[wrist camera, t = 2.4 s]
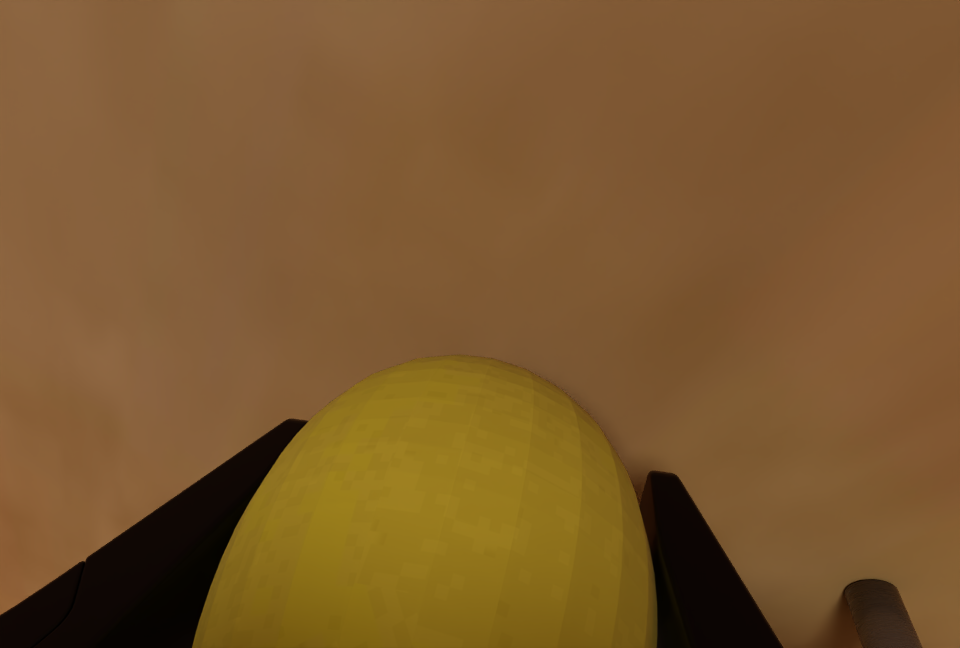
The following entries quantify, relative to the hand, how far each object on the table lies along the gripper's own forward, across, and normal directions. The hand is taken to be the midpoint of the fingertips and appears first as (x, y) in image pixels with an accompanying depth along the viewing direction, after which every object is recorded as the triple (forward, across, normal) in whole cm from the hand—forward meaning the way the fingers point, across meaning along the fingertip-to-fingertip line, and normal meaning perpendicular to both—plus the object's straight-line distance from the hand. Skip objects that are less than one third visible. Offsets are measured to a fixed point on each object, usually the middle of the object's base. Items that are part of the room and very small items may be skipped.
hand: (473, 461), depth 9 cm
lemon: (+2, 0, 0) cm, 2 cm away
